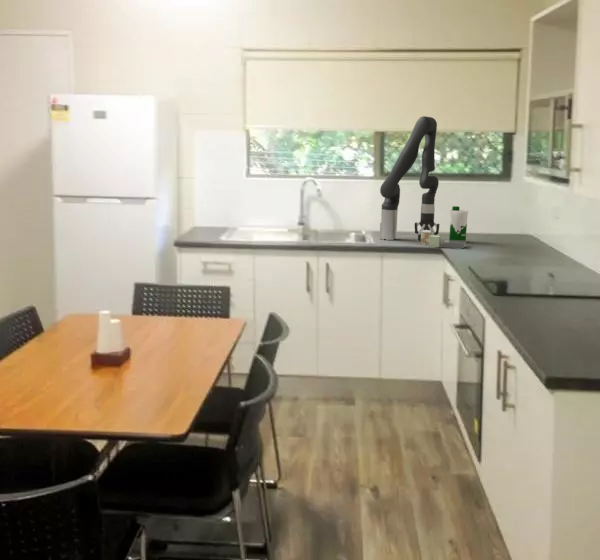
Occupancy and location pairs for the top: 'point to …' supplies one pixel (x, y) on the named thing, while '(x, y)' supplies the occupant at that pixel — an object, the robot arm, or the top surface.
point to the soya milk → (458, 224)
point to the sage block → (434, 241)
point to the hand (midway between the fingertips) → (426, 241)
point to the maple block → (425, 238)
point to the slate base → (454, 243)
